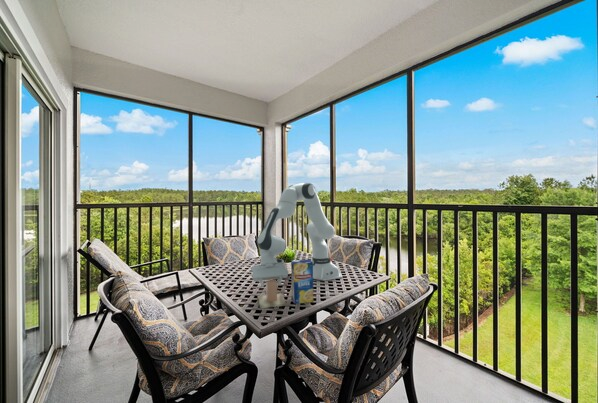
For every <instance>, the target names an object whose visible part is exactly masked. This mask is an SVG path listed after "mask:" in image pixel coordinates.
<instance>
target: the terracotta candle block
mask: <svg viewBox="0 0 598 403" xmlns="http://www.w3.org/2000/svg"><path fill="white" fill-rule="evenodd" d="M277 294H278V281H277V279H269V280H265V295H266V299H267V302H271V301H277Z"/></svg>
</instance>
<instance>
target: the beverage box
mask: <svg viewBox="0 0 598 403" xmlns="http://www.w3.org/2000/svg"><path fill="white" fill-rule="evenodd" d="M290 261H291V263H290V264H291V265H290V266H291V267H290V268H291V271H290V272H291V273H290V274H291V277H290V278H291V300H292V302H293V304H295V305H296V304H297V305H298V304H305V303H312V302H314V278H313V262H312V259H298V260H290Z"/></svg>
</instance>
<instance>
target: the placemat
mask: <svg viewBox="0 0 598 403" xmlns="http://www.w3.org/2000/svg"><path fill="white" fill-rule="evenodd" d="M257 301H258V305H259V309H260V310H261V309H269V308H274V307H276V306H277V307H284V306H287V302H286V299H285V297H284V295H283V294H282V293H280V292H278V293H277V301H271V302H267V299H266V294H263V295H261V294H260V295H257ZM277 307H276V308H277Z"/></svg>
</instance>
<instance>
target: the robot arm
mask: <svg viewBox="0 0 598 403" xmlns="http://www.w3.org/2000/svg"><path fill="white" fill-rule="evenodd" d="M302 200H303V205H304V208H305V211H306V212H305V213H306V214H307V218H308V219H309V220H310V222H308V224H307V225H306V227H305V228H306V229H305V230H306V232H307V233H308V235H309V238H310V241H311V242H310V243H311V248H312V257H311V261H312V262H313V280H319V281H324V282H325V281H326V282H327V281H331V280H335V279H341V278H342V277H343V274H342V273H341V272H340V270H339V268H338V266H337V265H335V264H334V263H333V261H334V259H333V258H332V257H330V256H329V246H328V244H327V242H326V241H325V240H330V239H333V237H334V235H335V234H336V230H335V227H334V226H333V225H332V224H331V223H330V222H329V220H328V218H327V217H326V215H325V213H324V211H323V207H322V204H321V201H320V198H319V195H318V193H317V191H316V187H315V186H314V184H312V183H311V182H305V183H304V182H302V183H301V182H299V183H296V184H292V185H290V186H287V187H285V188H284V189H283V190H282V193H281V195H280V198H279V200H278V203H277V206H276V207H274V208H272V210H271V211H270V213H269V215H268V218H267V219H266V222H265V224H264V226H263V228H262V230H261V232H260V233H259V235H258V237H257V239H256V242H257V245H258V248H259V254H260V264H253V265H252V266H251V267H250V270H251V272H252V276H251V277H252V278H251V279H252V281H254V282H257V281H258V283H259V284H260V285H261V288H265V282H262V281H267V280H277V279H279V281H277V287H278V286H282V282H283V279H286V278H288V275H289V272H288V268H287V265H286V264H285V261H284V259H282V258H281V259H280V258H277V257H276V256H280V255H281V254H283V253H284V252H285V251H286V249H287V241H286V239H284V238H282V237H280V236H277V235H274V234H273V231H274V228H275V225H276V223H277V221H278V220H280V219H288V218H291V217H292V216H293V215H294V214H295V211H296V209H297V208H296V207H297V204H298V203H297V202H298V201H302Z"/></svg>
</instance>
